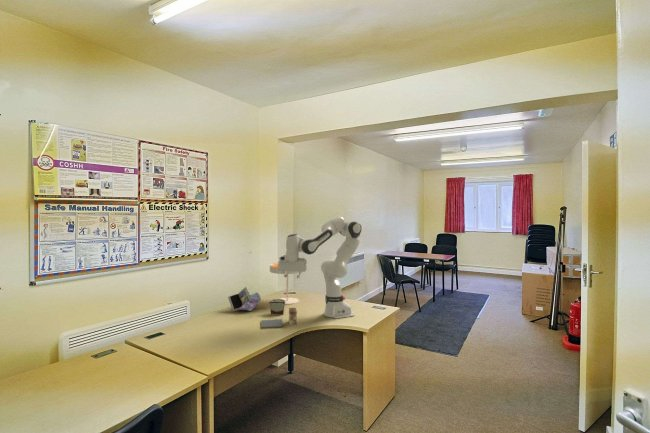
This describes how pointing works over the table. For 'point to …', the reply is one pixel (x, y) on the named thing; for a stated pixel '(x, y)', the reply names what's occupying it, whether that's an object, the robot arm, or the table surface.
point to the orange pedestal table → (275, 270)
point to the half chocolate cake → (277, 306)
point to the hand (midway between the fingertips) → (291, 277)
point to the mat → (271, 323)
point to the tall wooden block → (292, 316)
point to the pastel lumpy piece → (244, 300)
